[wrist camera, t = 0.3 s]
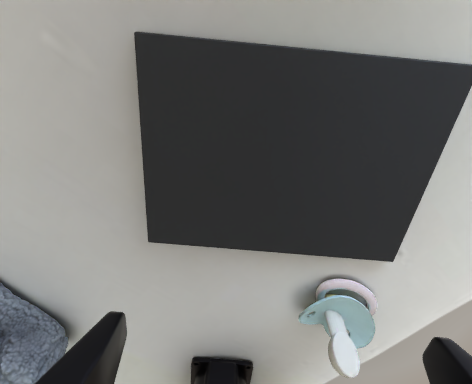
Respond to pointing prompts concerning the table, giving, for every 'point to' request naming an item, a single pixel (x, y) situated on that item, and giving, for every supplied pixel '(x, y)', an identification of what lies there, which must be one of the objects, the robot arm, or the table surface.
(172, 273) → the table surface
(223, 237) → the mat
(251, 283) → the table surface
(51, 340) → the koala plush
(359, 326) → the pacifier
